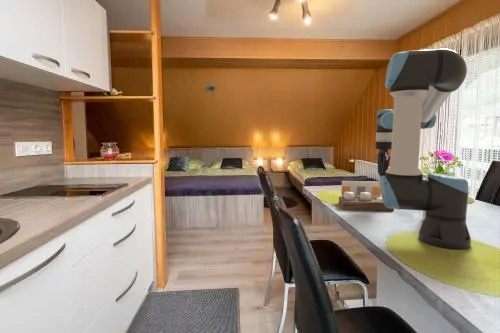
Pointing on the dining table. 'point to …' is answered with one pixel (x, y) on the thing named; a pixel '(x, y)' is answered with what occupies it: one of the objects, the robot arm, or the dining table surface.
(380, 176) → the robot arm
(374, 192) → the pattern card
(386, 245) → the dining table surface
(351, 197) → the button
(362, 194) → the button
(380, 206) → the button board
